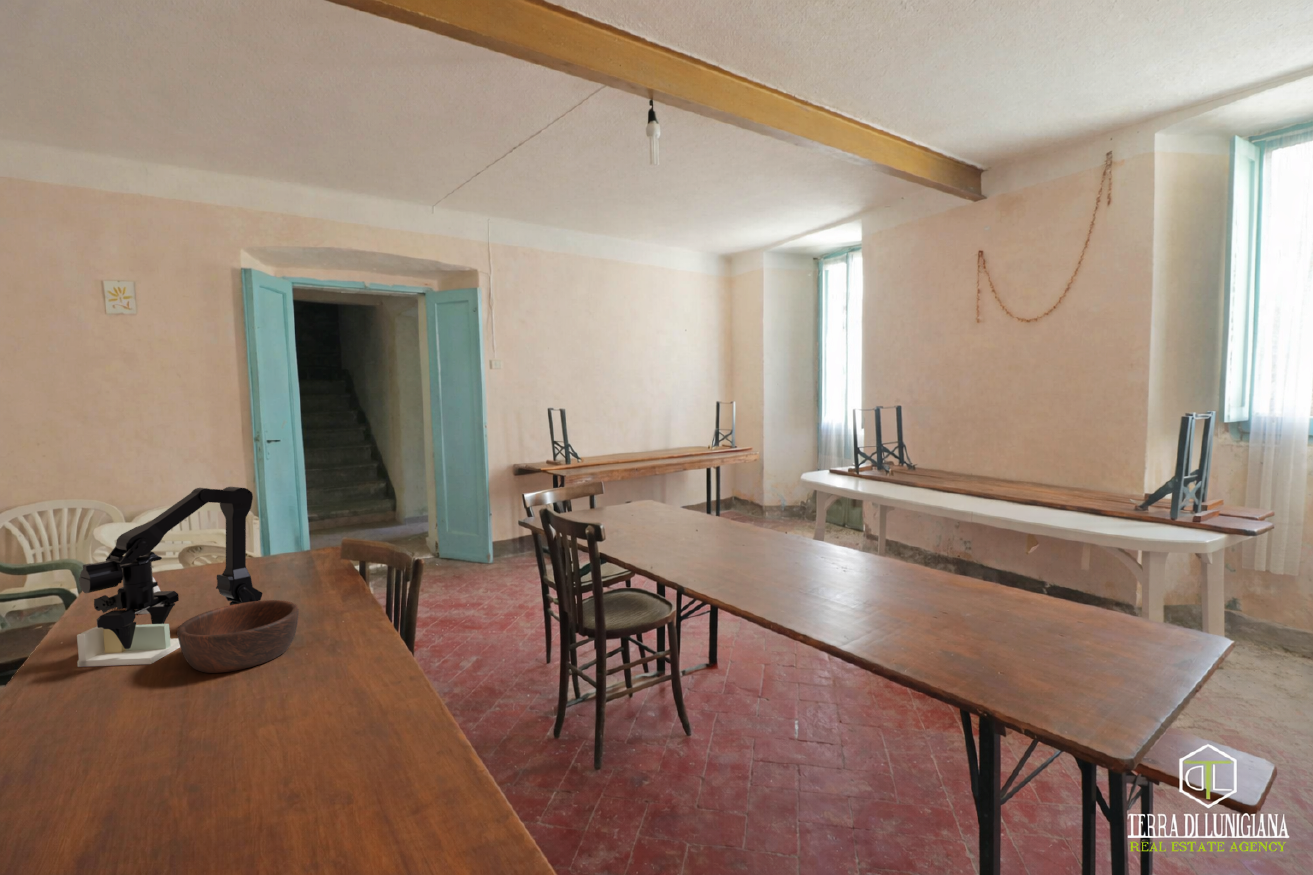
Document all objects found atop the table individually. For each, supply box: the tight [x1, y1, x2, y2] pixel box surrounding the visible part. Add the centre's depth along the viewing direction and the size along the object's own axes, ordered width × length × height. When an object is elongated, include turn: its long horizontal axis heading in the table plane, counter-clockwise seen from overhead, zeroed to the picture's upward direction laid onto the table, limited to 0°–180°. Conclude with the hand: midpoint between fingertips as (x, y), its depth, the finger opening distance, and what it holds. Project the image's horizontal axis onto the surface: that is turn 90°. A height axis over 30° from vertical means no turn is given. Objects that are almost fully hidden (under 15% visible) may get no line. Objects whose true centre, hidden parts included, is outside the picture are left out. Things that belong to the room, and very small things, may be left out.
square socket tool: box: [103, 623, 171, 653], centre depth 150 cm, size 14×4×6 cm, turn 94°
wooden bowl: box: [176, 599, 300, 674], centre depth 149 cm, size 25×25×10 cm
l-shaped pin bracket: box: [76, 625, 181, 668], centre depth 150 cm, size 17×12×8 cm
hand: (142, 640), depth 150 cm, fingers open, 9 cm apart
